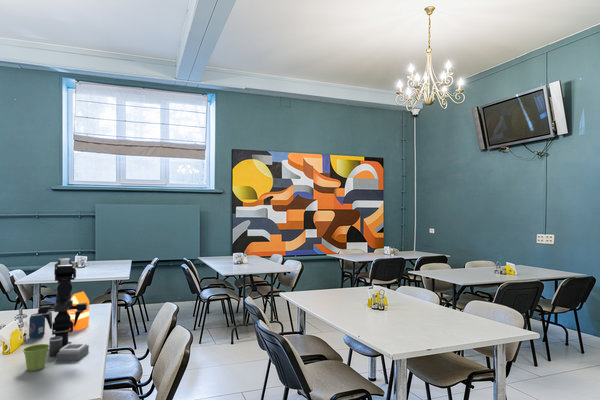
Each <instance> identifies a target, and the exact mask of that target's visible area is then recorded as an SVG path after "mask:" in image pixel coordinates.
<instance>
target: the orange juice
mask: <svg viewBox="0 0 600 400" xmlns="http://www.w3.org/2000/svg"><path fill="white" fill-rule="evenodd" d="M71 299H72V300H73V305H77V304H78V303H87V304H88V309H87V310H85V311H84V312H82V313H81V314H80V316H79V318H78V320H77V323H76V326H75V327H74V326H73V331H80V330H82V329H84V327H85V328H87V327H88V326H89V325H90V324H89V323H90V321H89V320H90V300H89V298H88V296H87V295H86V293H85V291H81V292H77V293H74V294H72V295H71ZM76 311H77V310H76V309H74V310H67V312H68V314H69V315H70V317H71V320H72V321H73V323H74V320H75V312H76ZM86 326H87V327H86Z"/></svg>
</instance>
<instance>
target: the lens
mask: <svg viewBox="0 0 600 400" xmlns="http://www.w3.org/2000/svg"><path fill="white" fill-rule="evenodd" d="M48 345H49V348H48V357H49V358H56V355H57V353H59V350H60V349H62V348H63V347H62V336H55V335H54V336H52V337H49V343H48Z"/></svg>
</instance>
